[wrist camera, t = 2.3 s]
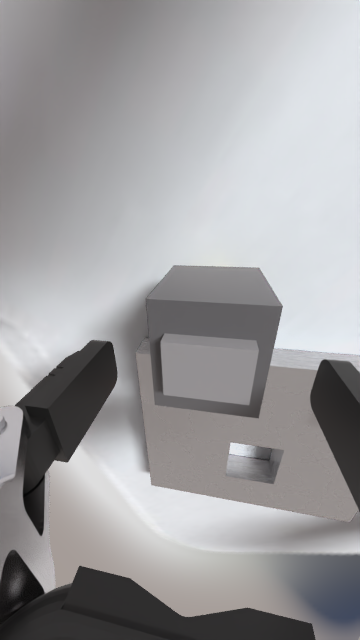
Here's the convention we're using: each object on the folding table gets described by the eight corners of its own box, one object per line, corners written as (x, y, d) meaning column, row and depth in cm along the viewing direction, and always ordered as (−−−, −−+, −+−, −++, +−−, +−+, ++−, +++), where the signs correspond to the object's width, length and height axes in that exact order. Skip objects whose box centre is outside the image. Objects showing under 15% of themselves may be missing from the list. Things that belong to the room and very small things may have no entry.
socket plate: (144, 337, 17) (131, 360, 14) (418, 360, 14) (460, 393, 12) (156, 464, 24) (149, 494, 22) (339, 496, 21) (354, 534, 19)
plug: (180, 257, 14) (139, 305, 7) (254, 259, 13) (287, 314, 6) (180, 328, 16) (151, 416, 9) (243, 333, 15) (260, 431, 9)
